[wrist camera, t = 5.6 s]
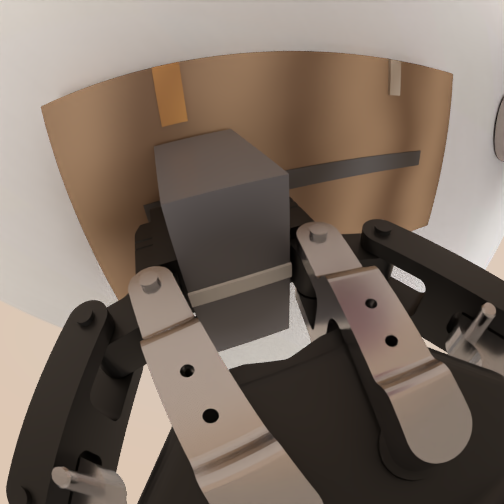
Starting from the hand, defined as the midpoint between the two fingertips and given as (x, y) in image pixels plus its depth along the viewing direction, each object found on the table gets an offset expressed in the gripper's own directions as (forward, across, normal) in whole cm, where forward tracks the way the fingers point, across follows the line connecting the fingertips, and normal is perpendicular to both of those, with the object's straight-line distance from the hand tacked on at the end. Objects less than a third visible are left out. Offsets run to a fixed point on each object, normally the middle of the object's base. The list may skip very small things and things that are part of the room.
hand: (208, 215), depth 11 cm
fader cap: (+1, 0, 0) cm, 1 cm away
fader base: (+4, -6, 0) cm, 7 cm away
